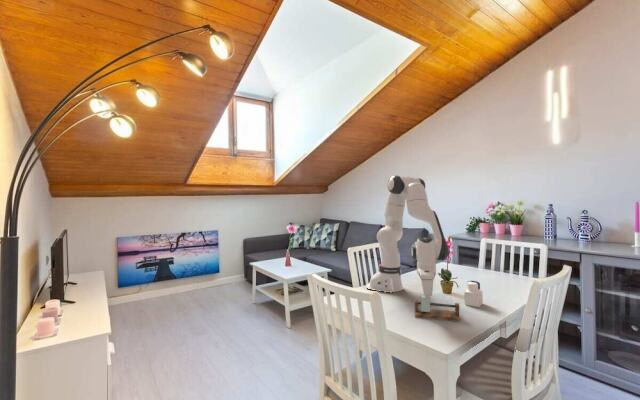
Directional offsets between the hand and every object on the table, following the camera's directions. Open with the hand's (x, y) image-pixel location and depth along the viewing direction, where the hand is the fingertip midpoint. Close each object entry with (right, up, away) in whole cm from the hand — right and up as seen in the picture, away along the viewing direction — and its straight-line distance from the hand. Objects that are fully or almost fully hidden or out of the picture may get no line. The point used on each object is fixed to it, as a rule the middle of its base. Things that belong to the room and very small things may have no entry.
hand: (427, 298), depth 151 cm
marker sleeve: (-1, -6, 0) cm, 6 cm away
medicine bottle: (+28, -7, +12) cm, 32 cm away
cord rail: (+4, -8, -1) cm, 9 cm away
